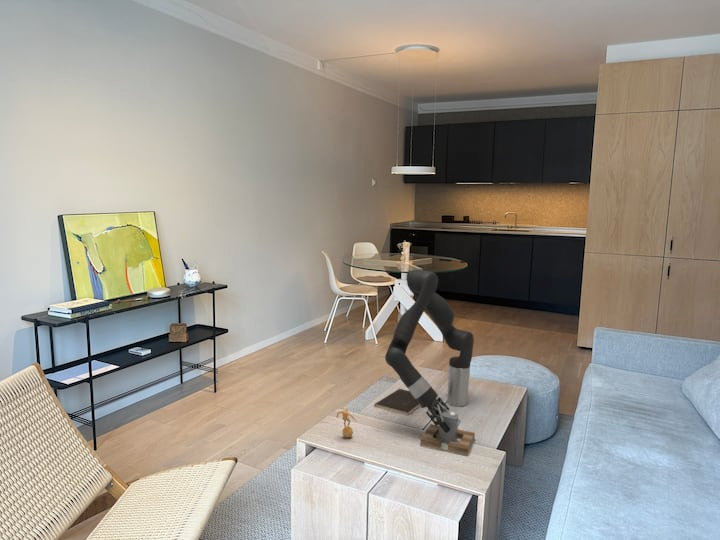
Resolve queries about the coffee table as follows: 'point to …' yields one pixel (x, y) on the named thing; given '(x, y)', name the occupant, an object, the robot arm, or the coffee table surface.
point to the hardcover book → (399, 402)
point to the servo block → (453, 424)
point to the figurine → (347, 430)
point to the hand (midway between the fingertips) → (451, 427)
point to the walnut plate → (456, 447)
